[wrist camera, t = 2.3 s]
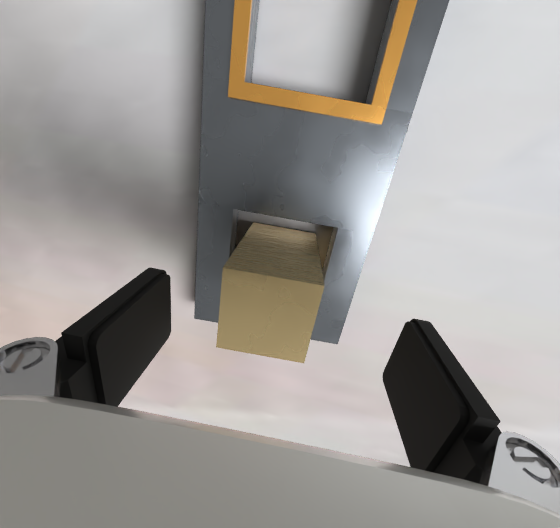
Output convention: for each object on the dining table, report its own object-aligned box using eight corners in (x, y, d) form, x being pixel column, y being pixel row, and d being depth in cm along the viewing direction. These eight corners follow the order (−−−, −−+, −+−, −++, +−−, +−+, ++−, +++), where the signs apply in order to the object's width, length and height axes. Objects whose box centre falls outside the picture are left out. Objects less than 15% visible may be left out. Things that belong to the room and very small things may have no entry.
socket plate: (334, 330, 19) (337, 346, 18) (201, 306, 19) (193, 320, 18) (471, -111, 10) (501, -157, 9) (224, -155, 10) (210, -209, 9)
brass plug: (303, 288, 18) (304, 363, 12) (246, 277, 18) (216, 347, 12) (315, 233, 16) (324, 285, 10) (253, 222, 16) (222, 267, 10)
